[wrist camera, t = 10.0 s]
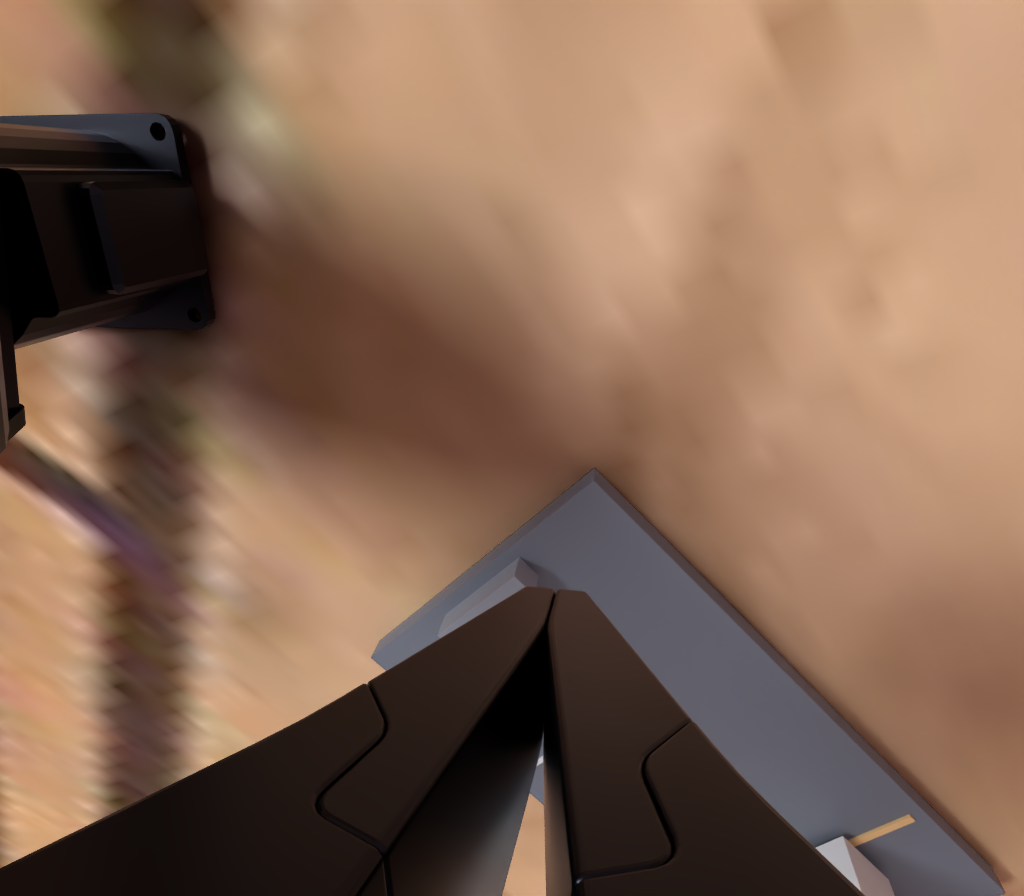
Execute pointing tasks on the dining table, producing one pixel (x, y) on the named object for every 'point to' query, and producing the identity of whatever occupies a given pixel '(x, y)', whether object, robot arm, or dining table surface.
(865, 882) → the fader knob
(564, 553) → the mixer panel
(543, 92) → the dining table surface
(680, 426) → the dining table surface
